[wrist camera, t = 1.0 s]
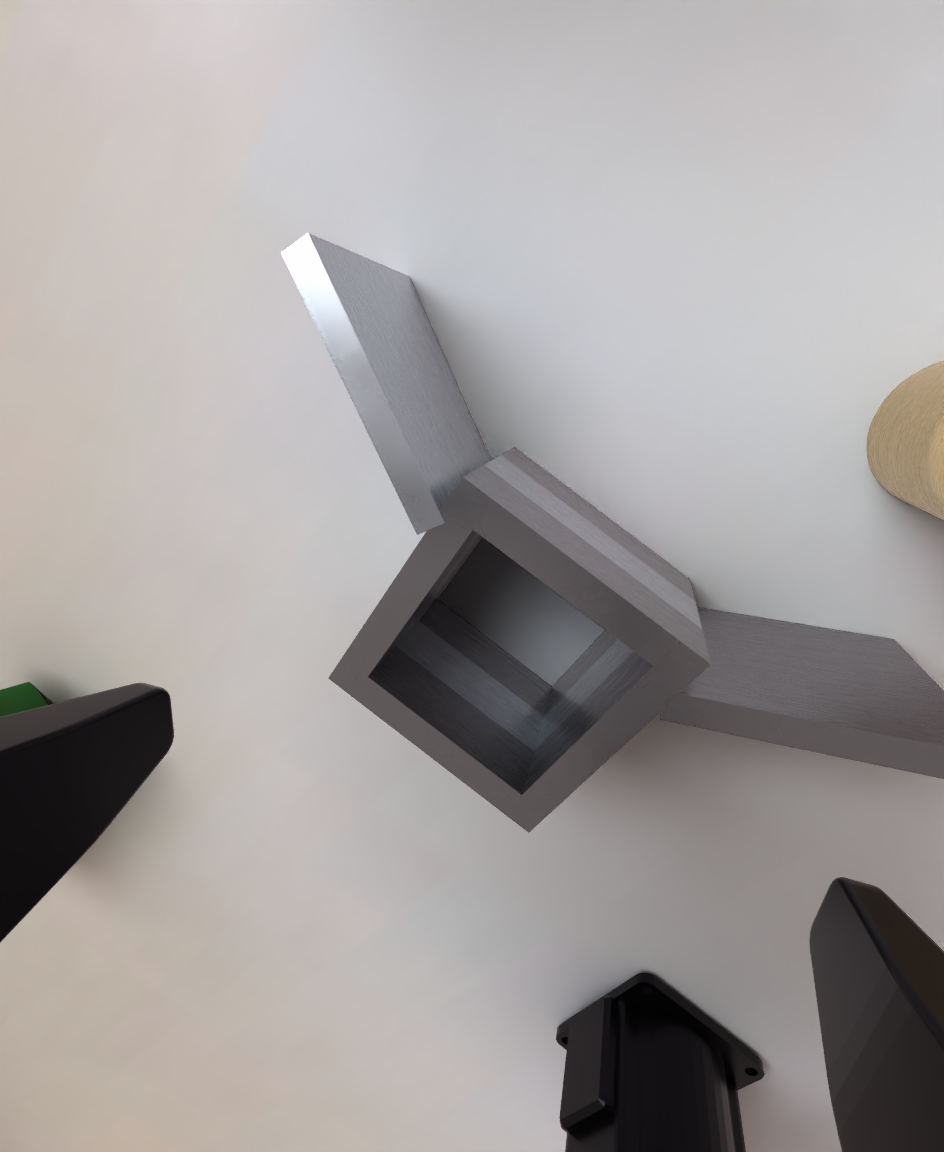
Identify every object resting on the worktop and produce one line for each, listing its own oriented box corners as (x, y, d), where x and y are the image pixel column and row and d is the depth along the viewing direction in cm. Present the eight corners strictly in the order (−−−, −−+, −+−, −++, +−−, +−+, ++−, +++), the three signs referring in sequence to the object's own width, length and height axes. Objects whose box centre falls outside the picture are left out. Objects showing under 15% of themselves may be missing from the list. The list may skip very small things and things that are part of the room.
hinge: (904, 647, 17) (1025, 771, 12) (688, 816, 21) (705, 967, 16) (398, 268, 18) (293, 222, 12) (278, 504, 22) (158, 547, 16)
